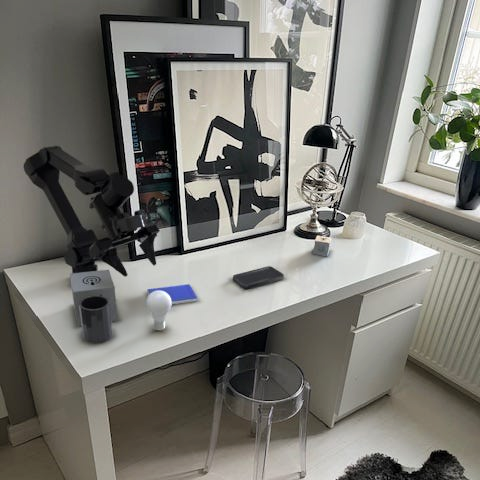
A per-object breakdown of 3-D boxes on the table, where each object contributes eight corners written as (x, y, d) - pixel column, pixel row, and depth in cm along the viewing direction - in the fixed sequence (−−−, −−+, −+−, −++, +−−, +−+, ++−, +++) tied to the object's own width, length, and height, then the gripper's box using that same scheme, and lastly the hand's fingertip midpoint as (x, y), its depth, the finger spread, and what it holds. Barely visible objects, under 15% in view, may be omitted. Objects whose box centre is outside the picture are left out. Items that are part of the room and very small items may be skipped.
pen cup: (81, 343, 121) (77, 310, 116) (84, 328, 127) (80, 295, 122) (111, 342, 122) (108, 309, 117) (113, 327, 128) (110, 294, 123)
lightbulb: (170, 336, 126) (169, 299, 120) (145, 335, 126) (143, 297, 120) (173, 323, 131) (173, 286, 125) (149, 321, 131) (147, 285, 125)
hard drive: (153, 302, 136) (197, 296, 140) (147, 288, 143) (189, 283, 147) (153, 307, 137) (197, 301, 141) (147, 293, 144) (189, 288, 148)
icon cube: (117, 320, 131) (114, 287, 125) (77, 326, 127) (73, 292, 122) (111, 301, 138) (108, 269, 133) (74, 306, 135) (69, 273, 130)
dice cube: (329, 250, 176) (331, 237, 174) (327, 256, 172) (329, 243, 170) (315, 248, 177) (317, 235, 175) (313, 254, 173) (315, 240, 171)
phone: (231, 275, 153) (270, 265, 161) (231, 278, 154) (270, 268, 161) (246, 286, 148) (285, 275, 155) (245, 289, 149) (285, 278, 156)
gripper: (91, 209, 114) (124, 270, 114) (154, 192, 126) (184, 247, 126) (75, 230, 122) (105, 286, 123) (135, 212, 134) (163, 264, 135)
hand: (141, 270), depth 126 cm, fingers open, 9 cm apart
